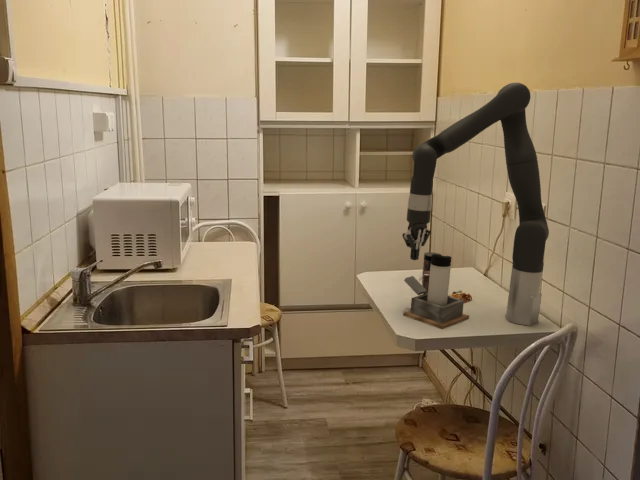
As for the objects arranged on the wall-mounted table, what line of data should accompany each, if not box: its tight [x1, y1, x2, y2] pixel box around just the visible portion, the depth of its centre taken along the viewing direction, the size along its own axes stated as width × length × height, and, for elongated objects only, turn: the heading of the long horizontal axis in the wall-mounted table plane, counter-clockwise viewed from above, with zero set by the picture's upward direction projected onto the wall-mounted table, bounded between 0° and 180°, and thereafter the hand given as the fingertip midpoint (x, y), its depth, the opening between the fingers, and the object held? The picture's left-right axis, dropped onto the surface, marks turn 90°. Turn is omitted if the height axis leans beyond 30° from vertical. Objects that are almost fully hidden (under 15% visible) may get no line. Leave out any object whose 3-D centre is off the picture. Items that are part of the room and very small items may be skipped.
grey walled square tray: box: [402, 293, 470, 330], centre depth 191 cm, size 15×15×6 cm
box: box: [421, 270, 430, 294], centre depth 215 cm, size 6×6×7 cm
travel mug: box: [427, 253, 452, 306], centre depth 188 cm, size 6×7×20 cm
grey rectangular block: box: [403, 275, 427, 296], centre depth 196 cm, size 7×4×1 cm
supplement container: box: [421, 251, 443, 280], centre depth 230 cm, size 7×7×10 cm
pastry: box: [448, 289, 473, 305], centre depth 208 cm, size 7×12×4 cm, turn 138°
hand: (414, 259), depth 195 cm, fingers closed
